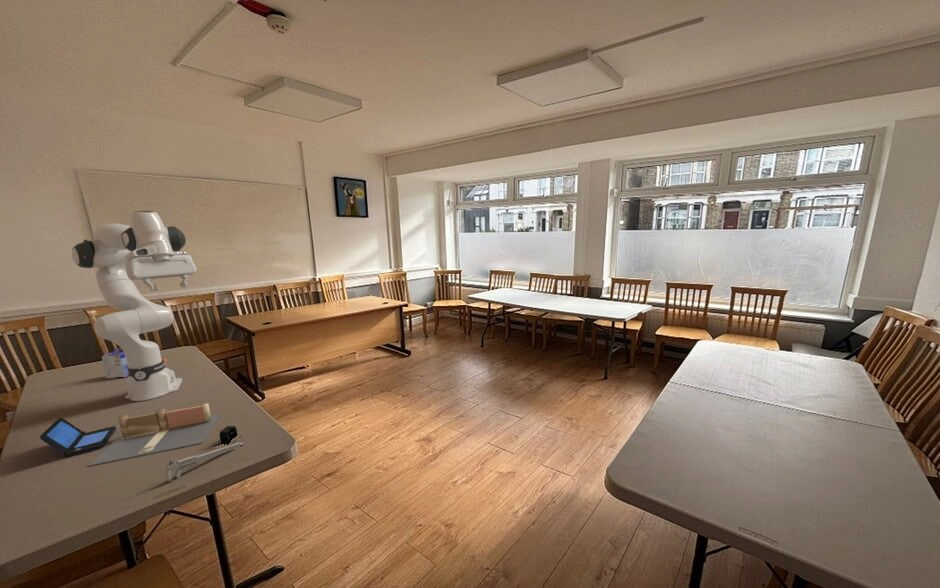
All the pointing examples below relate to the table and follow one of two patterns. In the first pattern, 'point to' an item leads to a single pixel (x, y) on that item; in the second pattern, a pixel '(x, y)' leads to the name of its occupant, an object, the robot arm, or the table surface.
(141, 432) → the fixed fence
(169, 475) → the caliper
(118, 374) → the ink cartridge box
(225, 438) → the black angular piece
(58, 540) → the table surface
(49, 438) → the handheld game console
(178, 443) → the board
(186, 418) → the fence panel
